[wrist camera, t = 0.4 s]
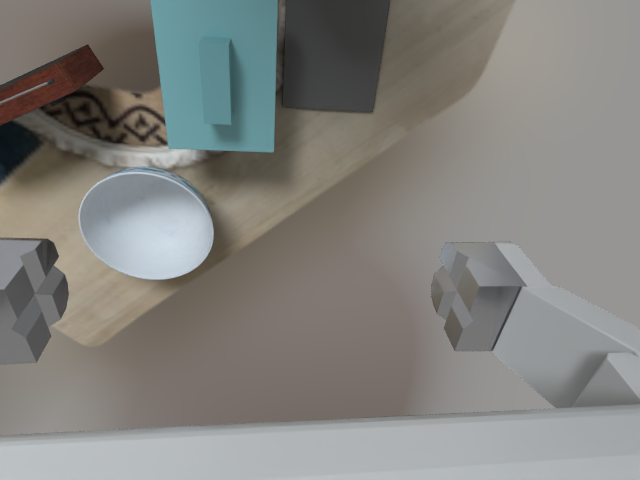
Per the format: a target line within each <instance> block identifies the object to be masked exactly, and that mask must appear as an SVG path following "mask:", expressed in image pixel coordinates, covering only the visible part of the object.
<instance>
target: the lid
mask: <svg viewBox="0 0 640 480" xmlns="http://www.w3.org/2000/svg"><path fill="white" fill-rule="evenodd" d="M151 8H152V16H153V24H154V32H155V41H156V49H157V57H158V65H159V73H160V81H161V90H162V98H163V106H164V114H165V122H166V130H167V138H168V146H169V149H195V150H222V151H249V152H274V130H275V90H276V50H277V9H278V0H151Z"/></svg>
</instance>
